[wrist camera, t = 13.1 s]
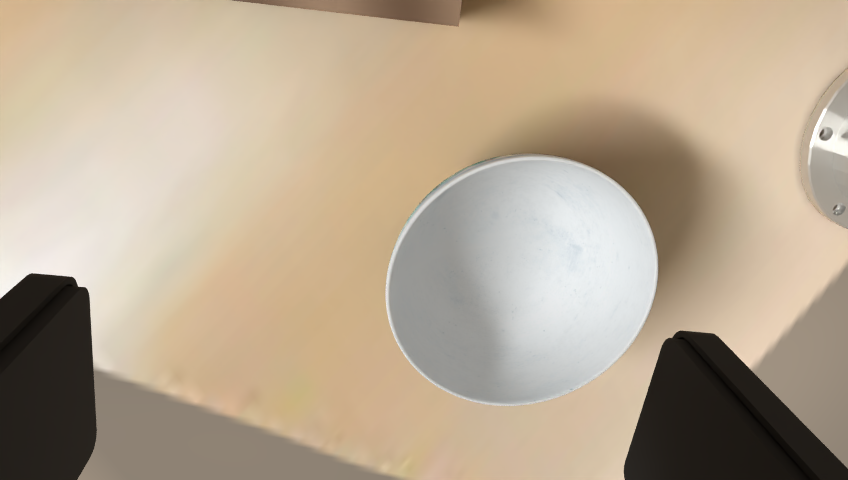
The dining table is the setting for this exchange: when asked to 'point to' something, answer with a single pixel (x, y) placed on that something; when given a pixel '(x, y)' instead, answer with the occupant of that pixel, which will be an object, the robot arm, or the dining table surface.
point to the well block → (383, 8)
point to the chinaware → (521, 279)
